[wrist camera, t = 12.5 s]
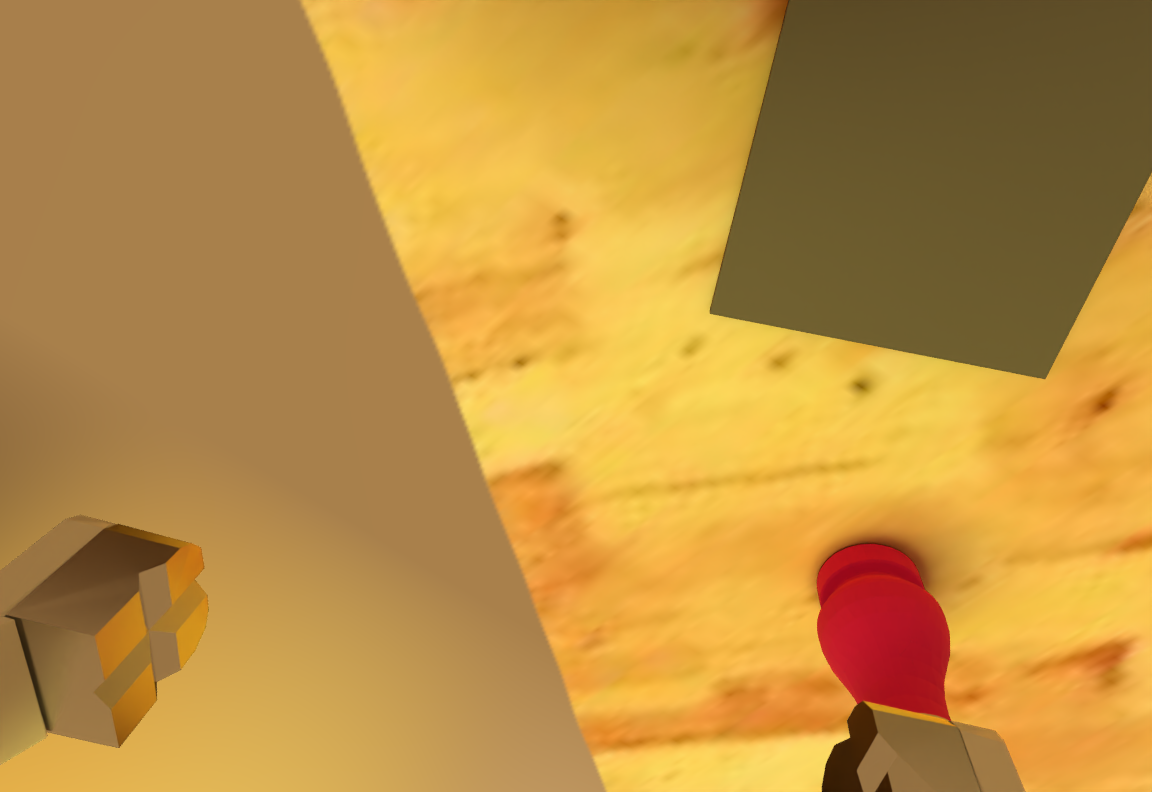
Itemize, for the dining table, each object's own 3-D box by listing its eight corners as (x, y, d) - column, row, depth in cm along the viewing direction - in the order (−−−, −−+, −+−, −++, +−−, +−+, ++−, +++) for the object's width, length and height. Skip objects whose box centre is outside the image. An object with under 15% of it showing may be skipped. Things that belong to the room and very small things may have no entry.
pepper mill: (950, 560, 46) (1102, 899, 29) (889, 637, 50) (992, 981, 32) (841, 520, 46) (928, 837, 28) (789, 600, 49) (837, 926, 32)
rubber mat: (1233, -2, 31) (1241, -2, 31) (1041, 375, 40) (1045, 379, 39) (806, -71, 32) (807, -72, 32) (709, 310, 41) (709, 313, 40)
